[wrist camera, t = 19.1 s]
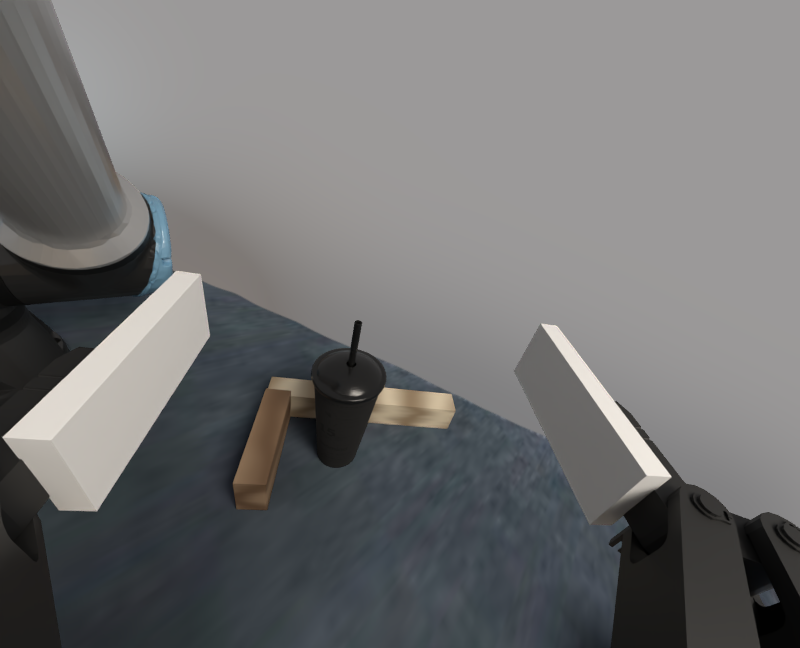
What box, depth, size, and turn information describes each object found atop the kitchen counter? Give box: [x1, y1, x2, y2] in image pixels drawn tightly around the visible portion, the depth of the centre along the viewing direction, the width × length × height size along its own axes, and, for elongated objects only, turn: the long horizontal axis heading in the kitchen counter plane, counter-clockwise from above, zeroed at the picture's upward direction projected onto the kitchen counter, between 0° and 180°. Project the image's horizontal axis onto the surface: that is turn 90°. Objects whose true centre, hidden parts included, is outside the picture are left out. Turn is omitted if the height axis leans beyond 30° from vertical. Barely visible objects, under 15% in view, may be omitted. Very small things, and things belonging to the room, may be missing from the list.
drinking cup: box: [311, 320, 386, 468], centre depth 36 cm, size 8×8×20 cm
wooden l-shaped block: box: [233, 377, 455, 510], centre depth 41 cm, size 25×15×5 cm, turn 94°
